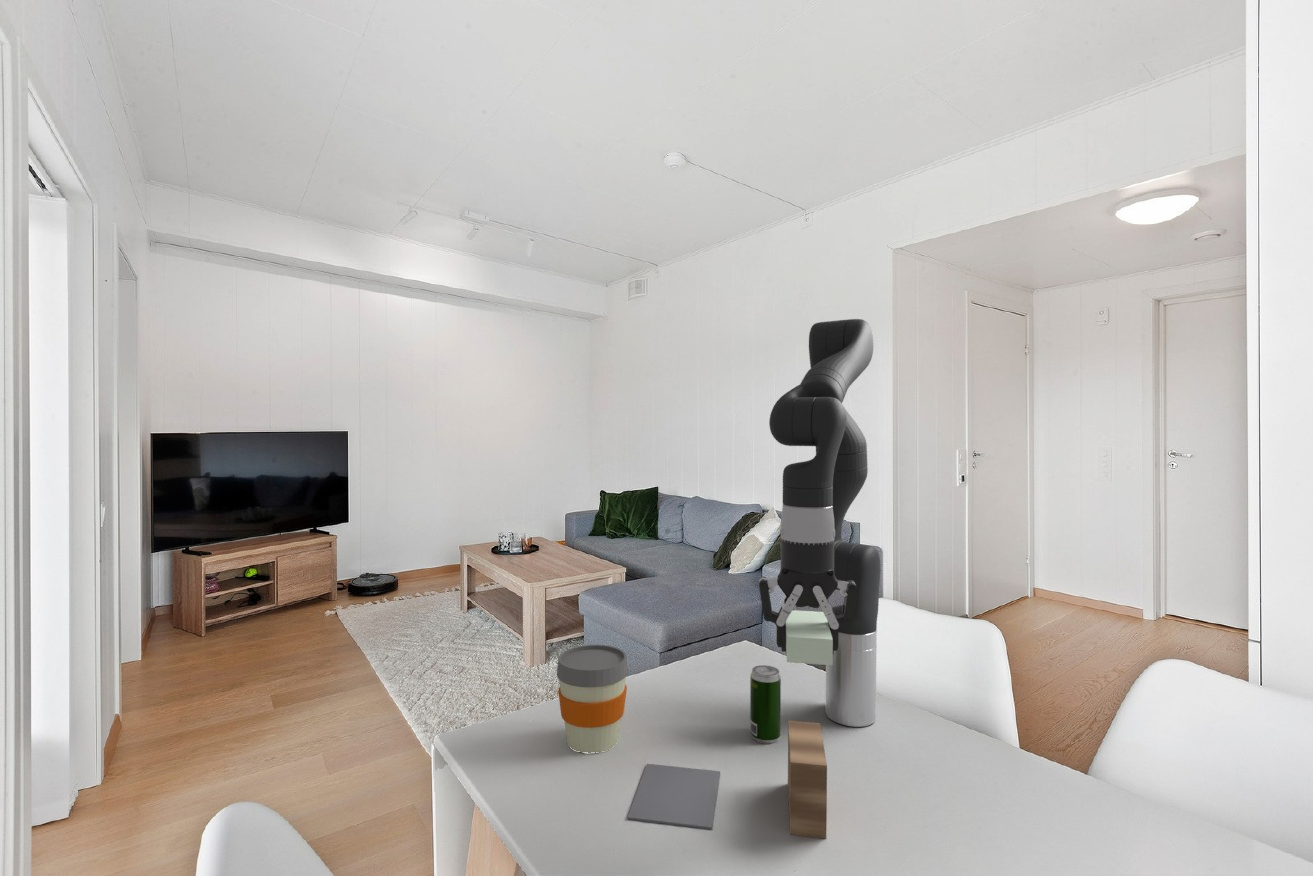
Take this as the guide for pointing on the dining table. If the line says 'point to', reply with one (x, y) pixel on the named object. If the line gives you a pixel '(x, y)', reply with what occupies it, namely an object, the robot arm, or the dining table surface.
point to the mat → (676, 796)
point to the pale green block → (808, 638)
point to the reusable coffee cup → (592, 695)
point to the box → (807, 780)
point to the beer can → (765, 704)
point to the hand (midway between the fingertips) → (806, 650)
